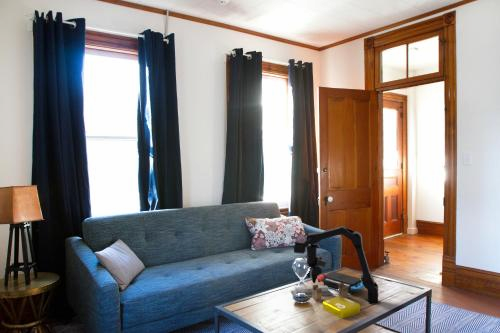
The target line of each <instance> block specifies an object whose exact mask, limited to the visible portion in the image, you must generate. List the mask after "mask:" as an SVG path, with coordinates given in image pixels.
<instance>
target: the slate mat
mask: <svg viewBox="0 0 500 333" xmlns="http://www.w3.org/2000/svg"><path fill="white" fill-rule="evenodd" d="M290 293H291V295H292V296H293V297H294V296H295V295H296V294H295V290H290ZM306 295H307V296H309V297H308V298H312V297H313V293H311V294H306ZM333 295H334V294H333V293H332V292H331V291H330V290H329V289H328V292H325V293H322V297H328V296H333Z"/></svg>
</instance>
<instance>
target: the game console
mask: <svg viewBox="0 0 500 333" xmlns="http://www.w3.org/2000/svg"><path fill="white" fill-rule="evenodd" d="M316 281H317V282H318V283H320V282H322V283H323V286H324V285H327V286H328V288H329V287H330V288H329V289H332V288H335V289H334V290H336V289H339V283H344V286H348V295H349V294H350V295H354V294H356V293H357V292H359V291H361V290H362V289H363V288H365V287H364V285H362V284H363V283H362V280H361V277H357V276H352V275H349V274H344V273H341V272H337V271H334V270H333V271H330V272H329V273H323V274H320V275H318V276H317V279H316Z"/></svg>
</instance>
